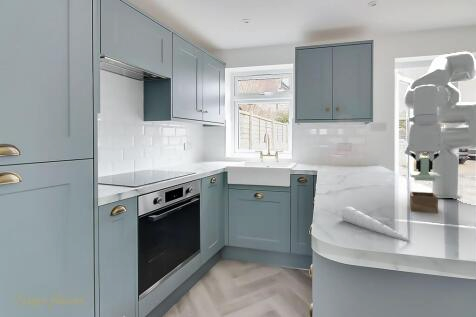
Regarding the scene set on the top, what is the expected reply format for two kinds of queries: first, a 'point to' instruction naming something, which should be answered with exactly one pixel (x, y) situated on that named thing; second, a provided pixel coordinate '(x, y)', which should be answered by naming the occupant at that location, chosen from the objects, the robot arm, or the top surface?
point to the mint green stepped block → (425, 171)
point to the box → (423, 202)
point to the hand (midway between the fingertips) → (424, 171)
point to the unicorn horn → (368, 223)
